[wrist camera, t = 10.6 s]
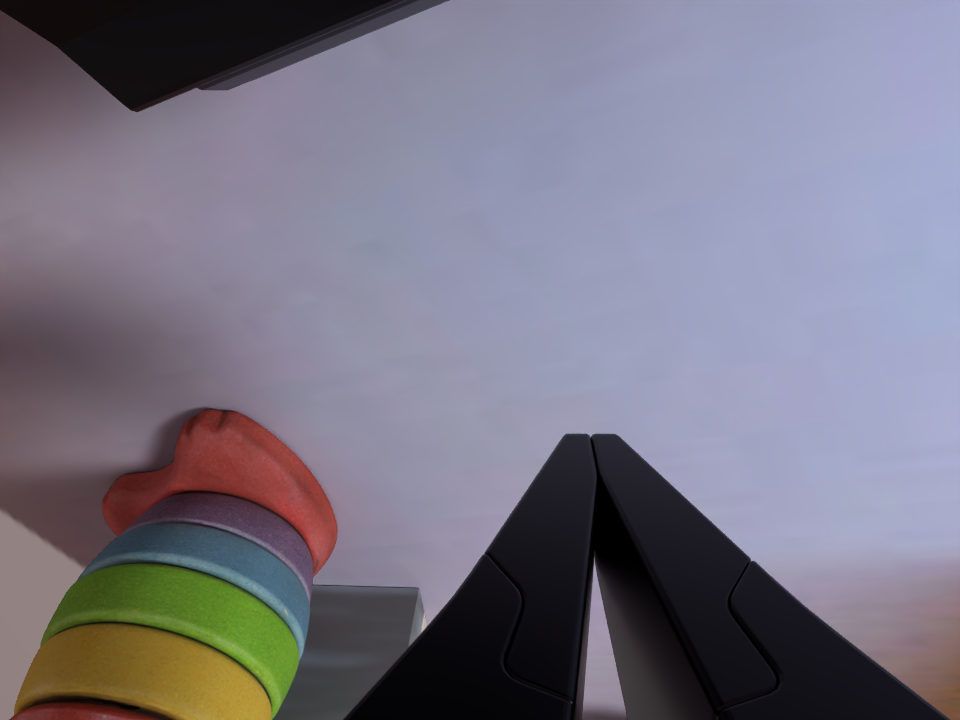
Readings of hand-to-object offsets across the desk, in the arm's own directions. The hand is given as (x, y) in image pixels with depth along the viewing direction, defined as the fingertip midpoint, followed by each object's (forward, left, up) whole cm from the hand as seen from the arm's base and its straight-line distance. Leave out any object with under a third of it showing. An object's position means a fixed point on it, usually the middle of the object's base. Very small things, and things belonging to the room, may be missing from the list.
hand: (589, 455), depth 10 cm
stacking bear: (+15, -16, -12) cm, 25 cm away
